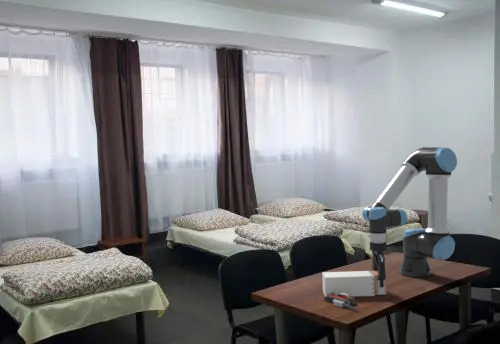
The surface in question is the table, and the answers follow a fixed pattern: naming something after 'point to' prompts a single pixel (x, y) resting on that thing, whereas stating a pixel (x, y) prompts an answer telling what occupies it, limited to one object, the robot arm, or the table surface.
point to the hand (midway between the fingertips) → (378, 290)
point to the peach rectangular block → (377, 283)
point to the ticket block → (349, 283)
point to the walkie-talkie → (341, 300)
